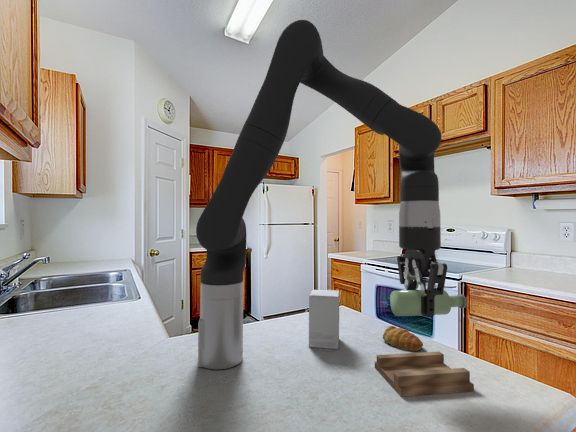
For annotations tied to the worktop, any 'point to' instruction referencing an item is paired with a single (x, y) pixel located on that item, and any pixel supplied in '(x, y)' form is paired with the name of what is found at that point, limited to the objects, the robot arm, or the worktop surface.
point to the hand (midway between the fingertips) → (419, 311)
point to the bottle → (411, 302)
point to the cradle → (422, 374)
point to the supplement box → (324, 319)
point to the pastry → (402, 339)
